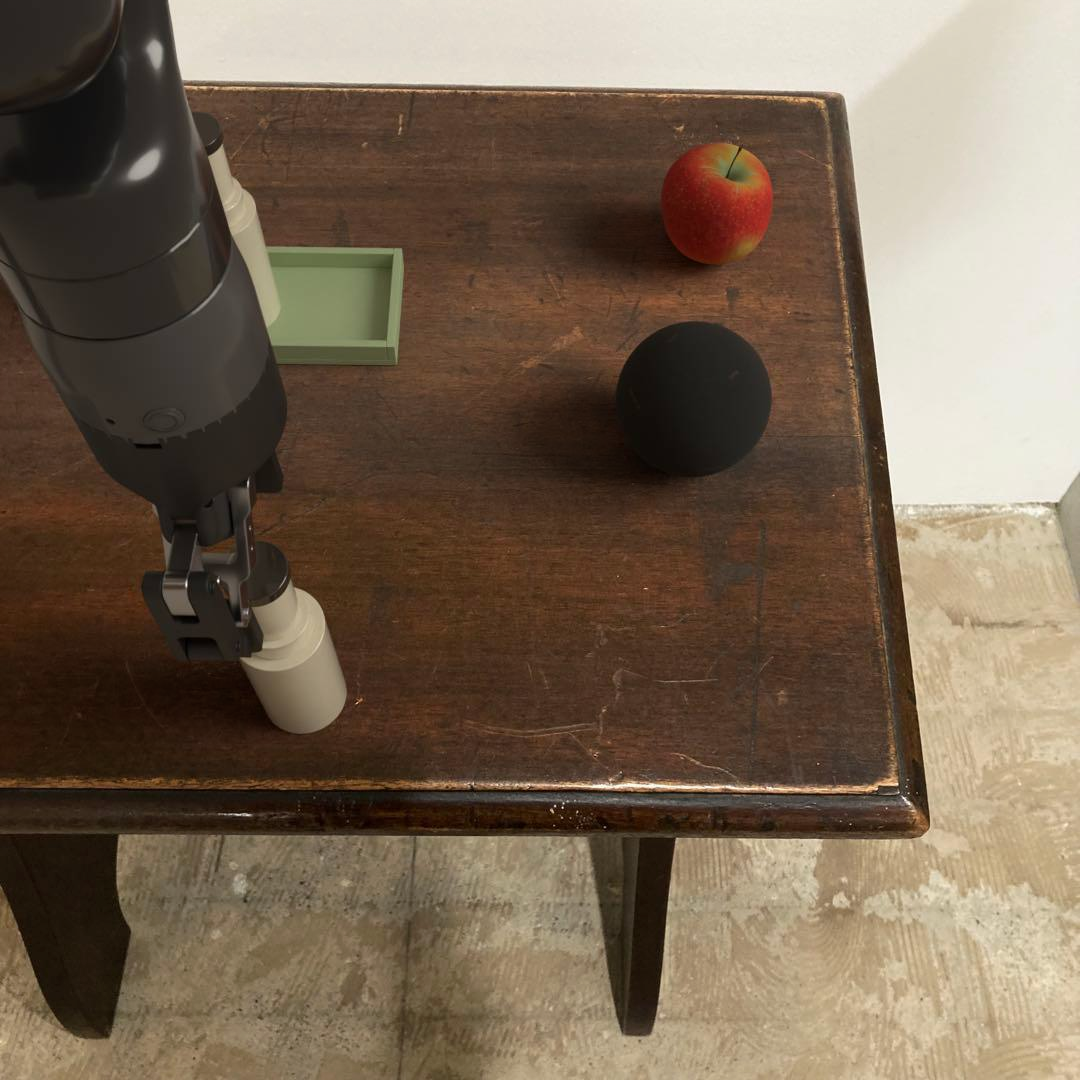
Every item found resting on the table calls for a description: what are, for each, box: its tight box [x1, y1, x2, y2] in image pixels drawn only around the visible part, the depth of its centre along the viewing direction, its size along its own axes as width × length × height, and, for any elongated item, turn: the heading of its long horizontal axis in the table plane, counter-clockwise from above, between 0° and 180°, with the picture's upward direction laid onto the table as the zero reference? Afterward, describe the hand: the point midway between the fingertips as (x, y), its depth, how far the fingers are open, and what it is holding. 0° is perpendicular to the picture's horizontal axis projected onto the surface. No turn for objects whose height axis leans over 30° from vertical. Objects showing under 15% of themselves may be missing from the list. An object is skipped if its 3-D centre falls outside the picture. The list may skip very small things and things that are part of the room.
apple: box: [660, 142, 774, 266], centre depth 83 cm, size 8×8×10 cm
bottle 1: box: [191, 111, 281, 327], centre depth 76 cm, size 5×5×16 cm
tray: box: [266, 245, 405, 366], centre depth 82 cm, size 22×9×2 cm, turn 90°
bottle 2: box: [221, 540, 348, 735], centre depth 62 cm, size 5×5×16 cm
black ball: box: [615, 320, 773, 478], centre depth 74 cm, size 10×10×10 cm
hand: (251, 564), depth 55 cm, fingers open, 8 cm apart
